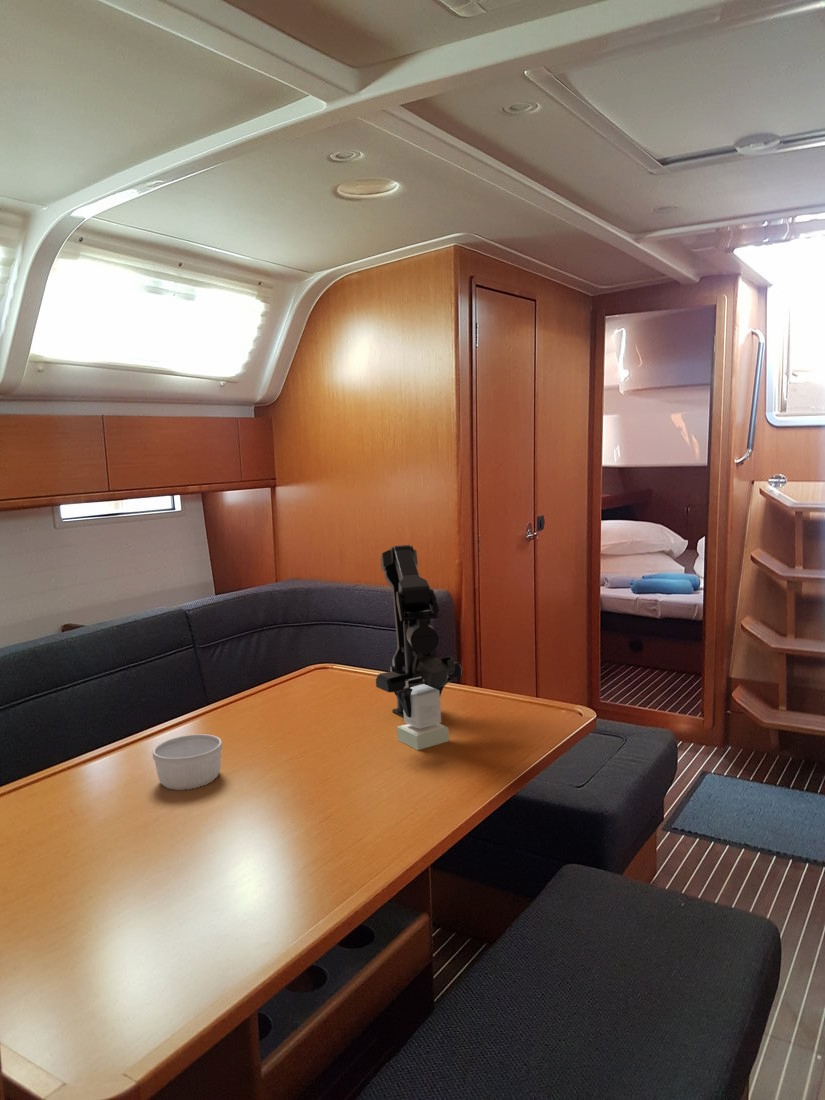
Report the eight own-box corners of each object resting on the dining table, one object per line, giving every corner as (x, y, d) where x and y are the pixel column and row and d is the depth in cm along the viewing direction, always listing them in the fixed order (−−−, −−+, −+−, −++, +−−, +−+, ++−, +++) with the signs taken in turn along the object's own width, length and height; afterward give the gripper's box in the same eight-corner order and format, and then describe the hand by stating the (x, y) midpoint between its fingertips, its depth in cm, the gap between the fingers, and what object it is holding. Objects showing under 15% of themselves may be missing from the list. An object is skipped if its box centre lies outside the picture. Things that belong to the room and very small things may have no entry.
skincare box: (441, 723, 164) (440, 689, 163) (418, 729, 161) (416, 695, 160) (426, 715, 169) (424, 683, 168) (402, 721, 166) (401, 689, 165)
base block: (397, 739, 167) (397, 725, 166) (428, 731, 171) (427, 717, 170) (417, 750, 160) (416, 735, 160) (448, 741, 164) (448, 726, 164)
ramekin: (237, 776, 152) (234, 742, 151) (177, 799, 142) (174, 763, 142) (201, 761, 161) (198, 729, 160) (143, 782, 151) (139, 748, 151)
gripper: (400, 658, 151) (404, 734, 153) (475, 641, 161) (478, 713, 163) (372, 648, 161) (377, 720, 162) (445, 633, 171) (448, 701, 172)
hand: (421, 713), depth 165 cm, fingers closed on skincare box, 6 cm apart
